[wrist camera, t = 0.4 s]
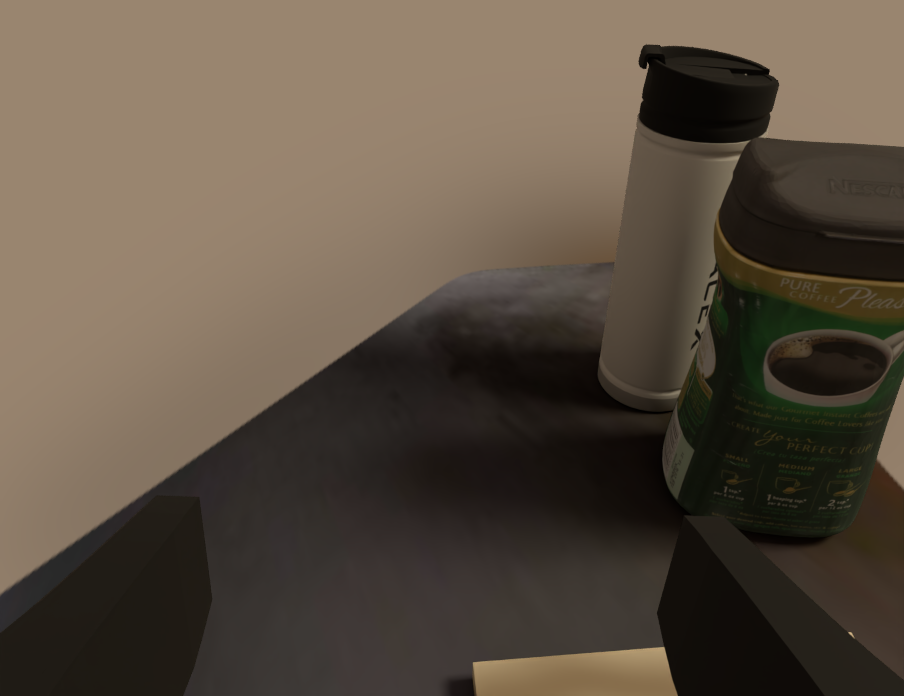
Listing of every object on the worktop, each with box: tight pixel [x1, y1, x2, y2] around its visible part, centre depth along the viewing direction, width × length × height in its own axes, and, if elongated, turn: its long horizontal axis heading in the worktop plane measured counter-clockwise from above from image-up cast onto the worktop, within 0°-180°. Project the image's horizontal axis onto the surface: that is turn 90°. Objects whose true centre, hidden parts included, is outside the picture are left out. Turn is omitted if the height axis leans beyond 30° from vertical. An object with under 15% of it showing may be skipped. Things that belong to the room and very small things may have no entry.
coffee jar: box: [662, 137, 904, 538], centre depth 32 cm, size 10×8×19 cm
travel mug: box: [597, 45, 779, 412], centre depth 39 cm, size 6×7×20 cm
